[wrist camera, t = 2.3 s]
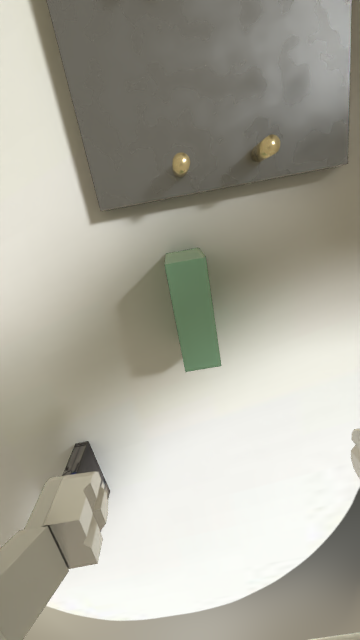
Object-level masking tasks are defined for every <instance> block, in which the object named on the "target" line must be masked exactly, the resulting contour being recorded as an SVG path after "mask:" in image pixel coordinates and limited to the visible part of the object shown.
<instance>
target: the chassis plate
mask: <svg viewBox="0 0 360 640" xmlns="http://www.w3.org/2000/svg"><path fill="white" fill-rule="evenodd" d="M47 3H48V7H49V11H50V15H51V19H52V23H53V27H54V31H55V35H56V39H57V42H58V46H59V50H60V54H61V58H62V62H63V66H64V70H65V74H66V78H67V82H68V85H69V89H70V93H71V97H72V101H73V105H74V109H75V113H76V117H77V121H78V124H79V128H80V132H81V136H82V140H83V144H84V148H85V152H86V156H87V160H88V163H89V167H90V171H91V175H92V179H93V183H94V187H95V191H96V195H97V199H98V202H99V206H100V210H101V211H107V210H112V209H117V208H122V207H128V206H133V205H138V204H143V203H149V202H154V201H159V200H164V199H170V198H175V197H180V196H185V195H190V194H196V193H201V192H206V191H211V190H217V189H222V188H227V187H232V186H238V185H243V184H248V183H253V182H259V181H264V180H269V179H274V178H279V177H285V176H290V175H295V174H300V173H306V172H311V171H316V170H321V169H327V168H332V167H337V166H341V165H344V164H348V135H349V94H350V54H351V14H352V0H47Z"/></svg>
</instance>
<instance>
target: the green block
mask: <svg viewBox="0 0 360 640" xmlns="http://www.w3.org/2000/svg"><path fill="white" fill-rule="evenodd" d="M165 270H166V275H167V280H168V285H169V290H170V295H171V300H172V305H173V311H174V316H175V321H176V326H177V331H178V336H179V341H180V346H181V352H182V357H183V362H184V367H185V372H188V371H194V370H200V369H206V368H212V367H218V366H221V360H220V353H219V346H218V339H217V332H216V325H215V318H214V311H213V304H212V298H211V291H210V284H209V277H208V270H207V263H206V257H205V256H204V254H203V253H202V252H201V250H200V249H199V248H194V249H189V250H183V251H178V252H172V253H167V254H166V257H165Z"/></svg>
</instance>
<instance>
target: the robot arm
mask: <svg viewBox="0 0 360 640" xmlns="http://www.w3.org/2000/svg"><path fill="white" fill-rule="evenodd" d="M352 441H353V442H354V443H355V444H356V445H355V446H354V447H353V449H352V450H351V461H352V464H353V467H354V470H355V472H356V474H357V476H358V477H359V478H360V428H359V429H354V430H353V432H352ZM100 483H101V478H100V475H99V473H98V472H96V471H95V472H87V473H80V474H72V475H66V476H60V477H52V478H50V479H49V480H48V481H47V482H46V483H45V486H44V488H43V490H42V492H41V494H40V496H39V498H38V501H37V503H36V505H35V507H34V509H33V511H32V514H31V516H30V518H29V520H28V522H27V524H26V526H25V529H24V530H20V531H18V532H17V533H16V534H15V535H14V536H13V537H12V538H11V539H10V540H9V541H8V542H7V543H6V544H5V545H4V546H3V547H2V548H1V549H0V640H23V639H24V637H25V636H26V634H27V633H28V631H29V630H30V629H31V627H32V625H33V624H34V622H35V621H36V619H37V618H38V617H39V615H40V614H41V612H42V611H43V609H44V608H45V606H46V605H47V603H48V602H49V600H50V599H51V597H52V596H53V594H54V593H55V591H56V590H57V588H58V587H59V585H60V584H61V582H62V581H63V579H64V578H65V576H66V575H67V573H68V572H69V570H68V569H71V568H77V567H82V566H87V565H93V564H98V560H99V555H100V550H101V545H102V541H103V538H102V535H101V533H100V530H101V529H102V528H103V527H104V525H105V524H106V521H107V516H108V499H107V494H106V491H105V489H103V488H102V487H100ZM310 640H360V632H358V633H351V634H345V635H337V636H330V637H323V638H316V639H310Z"/></svg>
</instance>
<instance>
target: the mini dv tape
mask: <svg viewBox="0 0 360 640" xmlns="http://www.w3.org/2000/svg"><path fill="white" fill-rule="evenodd" d="M95 471H96V472H98V473H99V475H100V478H101V483H100V487H102V488H103V489H105V491H106V494H107V499H108V497H109V493H110V490H109V488H108V485H107V483H106V481H105V479H104V476H103V474H102V472H101V469H100V467H99V465H98V463H97V460H96V458H95V456H94V453H93V451H92V449H91V446H90V444H89V442H88V441H87V442H82V443H77V444H75V447H74V449H73V451H72V454H71V456H70V458H69V461H68V463H67V466H66V468H65V470H64V473H63V475H62V476H66V475H72V474H80V473H87V472H95ZM100 533H101V530H100Z"/></svg>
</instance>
